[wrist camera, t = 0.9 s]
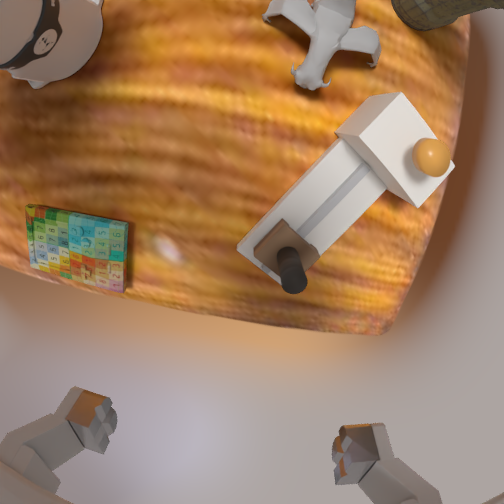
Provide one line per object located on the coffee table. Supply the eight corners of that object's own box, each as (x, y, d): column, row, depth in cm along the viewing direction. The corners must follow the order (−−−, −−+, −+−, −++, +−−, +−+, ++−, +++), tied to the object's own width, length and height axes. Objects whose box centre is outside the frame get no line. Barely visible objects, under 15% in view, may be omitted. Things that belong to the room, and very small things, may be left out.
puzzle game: (121, 295, 44) (28, 269, 42) (131, 281, 48) (41, 258, 47) (123, 227, 39) (22, 207, 37) (134, 217, 44) (37, 199, 42)
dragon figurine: (250, 9, 31) (247, -9, 23) (344, -20, 27) (364, -40, 19) (296, 93, 38) (305, 96, 30) (386, 63, 34) (415, 61, 26)
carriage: (253, 248, 43) (254, 283, 34) (282, 218, 41) (291, 246, 32) (288, 275, 45) (297, 314, 36) (316, 248, 43) (332, 282, 34)
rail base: (231, 240, 45) (227, 272, 36) (369, 96, 36) (401, 91, 27) (292, 288, 49) (301, 326, 40) (420, 158, 40) (457, 171, 30)
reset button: (405, 154, 27) (414, 156, 25) (427, 130, 26) (437, 131, 24) (425, 180, 28) (434, 185, 26) (445, 157, 27) (455, 160, 25)
